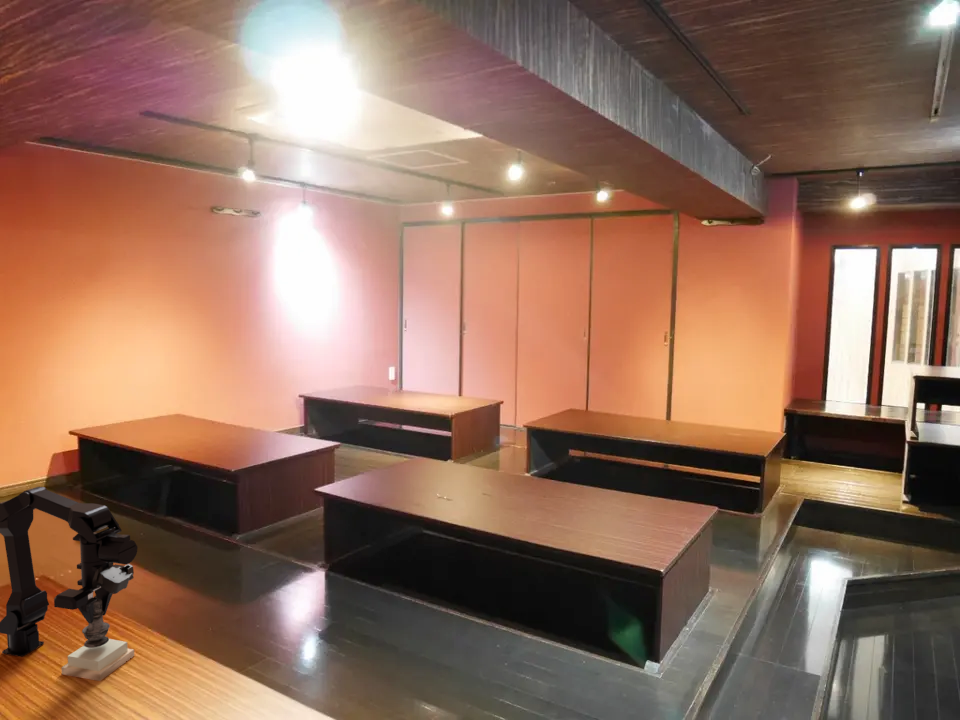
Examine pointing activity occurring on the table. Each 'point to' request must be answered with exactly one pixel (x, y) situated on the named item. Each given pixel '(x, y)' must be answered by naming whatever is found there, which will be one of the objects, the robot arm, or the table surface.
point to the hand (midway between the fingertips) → (96, 618)
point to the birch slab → (97, 674)
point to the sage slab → (97, 655)
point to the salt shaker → (96, 628)
